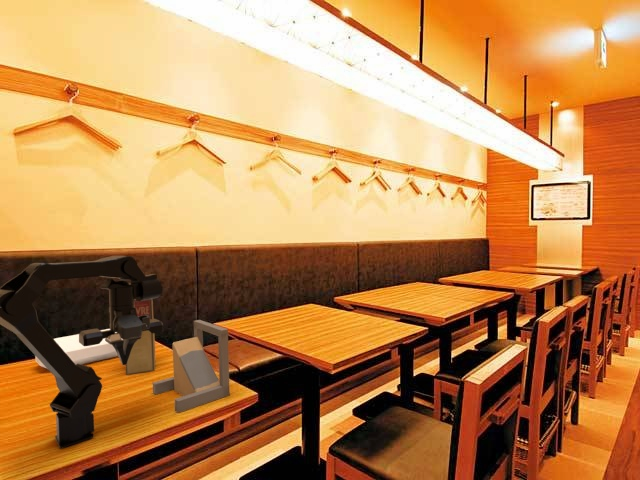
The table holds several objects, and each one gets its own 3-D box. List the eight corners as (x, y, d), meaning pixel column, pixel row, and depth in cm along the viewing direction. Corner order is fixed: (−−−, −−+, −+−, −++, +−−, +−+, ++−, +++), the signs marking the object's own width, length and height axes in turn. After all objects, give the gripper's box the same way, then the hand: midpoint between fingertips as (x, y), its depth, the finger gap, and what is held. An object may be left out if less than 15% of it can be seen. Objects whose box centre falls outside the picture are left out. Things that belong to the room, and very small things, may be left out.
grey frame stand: (177, 412, 98) (175, 340, 98) (153, 392, 111) (151, 328, 111) (229, 395, 108) (227, 329, 108) (201, 378, 121) (199, 319, 121)
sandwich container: (202, 407, 102) (200, 352, 102) (173, 392, 112) (171, 342, 112) (228, 396, 109) (227, 344, 108) (198, 383, 119) (197, 335, 118)
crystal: (129, 331, 147) (41, 348, 126) (130, 356, 147) (42, 376, 127) (116, 325, 157) (33, 340, 136) (117, 348, 157) (33, 366, 137)
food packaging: (127, 363, 138) (125, 295, 137) (155, 359, 141) (153, 292, 141) (124, 375, 125) (122, 300, 125) (155, 371, 129) (153, 298, 129)
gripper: (88, 314, 85) (90, 383, 85) (170, 302, 98) (172, 362, 98) (77, 308, 93) (79, 371, 93) (155, 298, 106) (156, 353, 106)
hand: (124, 364), depth 98 cm, fingers closed
